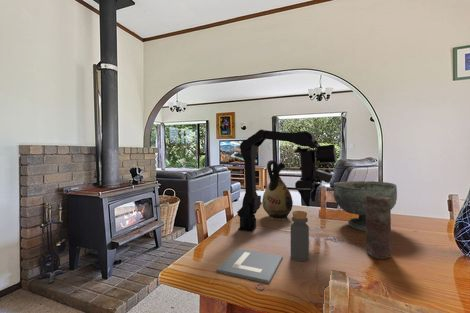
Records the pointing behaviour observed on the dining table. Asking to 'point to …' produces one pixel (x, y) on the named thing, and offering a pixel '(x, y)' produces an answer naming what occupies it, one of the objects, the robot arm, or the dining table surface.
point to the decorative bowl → (361, 198)
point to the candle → (378, 226)
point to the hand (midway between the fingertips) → (311, 203)
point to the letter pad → (251, 265)
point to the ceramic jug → (276, 194)
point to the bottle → (299, 236)
